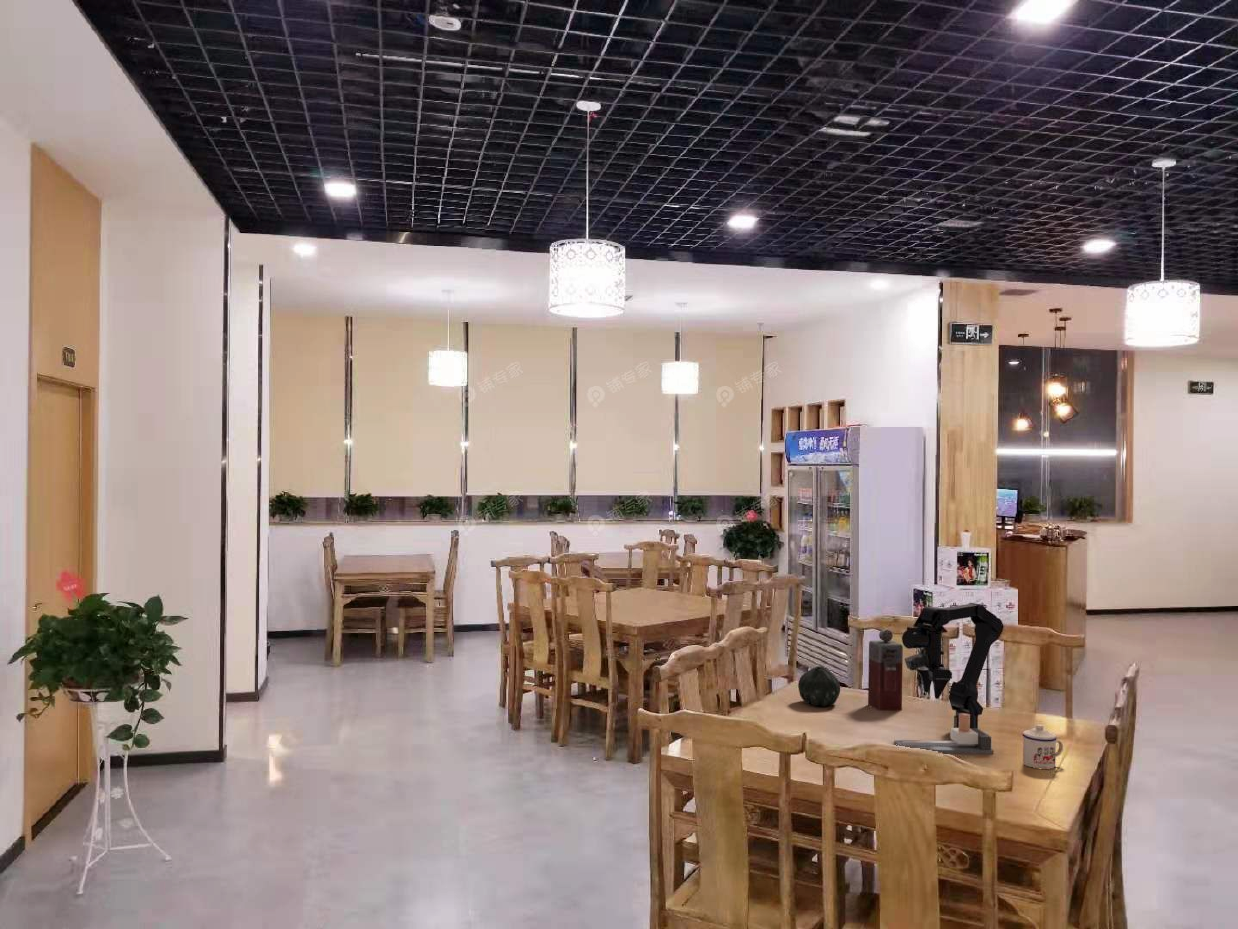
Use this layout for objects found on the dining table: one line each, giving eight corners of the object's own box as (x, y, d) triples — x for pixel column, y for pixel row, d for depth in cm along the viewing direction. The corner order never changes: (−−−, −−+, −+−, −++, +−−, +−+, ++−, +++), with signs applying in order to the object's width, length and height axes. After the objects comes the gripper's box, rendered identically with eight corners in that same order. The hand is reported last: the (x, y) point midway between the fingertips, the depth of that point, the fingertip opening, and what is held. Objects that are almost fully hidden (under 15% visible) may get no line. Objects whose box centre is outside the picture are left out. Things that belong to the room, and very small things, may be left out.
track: (979, 744, 296) (979, 728, 296) (993, 753, 286) (993, 737, 286) (894, 743, 295) (894, 727, 295) (904, 753, 285) (905, 736, 285)
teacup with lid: (1034, 771, 270) (1035, 730, 270) (1015, 761, 279) (1016, 721, 279) (1072, 769, 272) (1072, 728, 272) (1052, 759, 281) (1052, 720, 281)
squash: (820, 682, 357) (804, 655, 350) (853, 691, 345) (837, 663, 338) (800, 711, 350) (784, 684, 343) (833, 721, 338) (817, 693, 332)
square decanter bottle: (881, 712, 334) (883, 632, 334) (867, 704, 345) (868, 627, 345) (905, 711, 336) (906, 632, 336) (890, 704, 347) (891, 627, 347)
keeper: (969, 738, 294) (969, 712, 294) (978, 744, 288) (978, 717, 288) (950, 738, 294) (950, 711, 294) (958, 744, 287) (958, 717, 287)
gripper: (898, 641, 314) (897, 688, 314) (917, 652, 295) (917, 702, 295) (931, 641, 314) (930, 689, 314) (953, 652, 295) (952, 702, 295)
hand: (931, 695), depth 305 cm, fingers open, 9 cm apart
